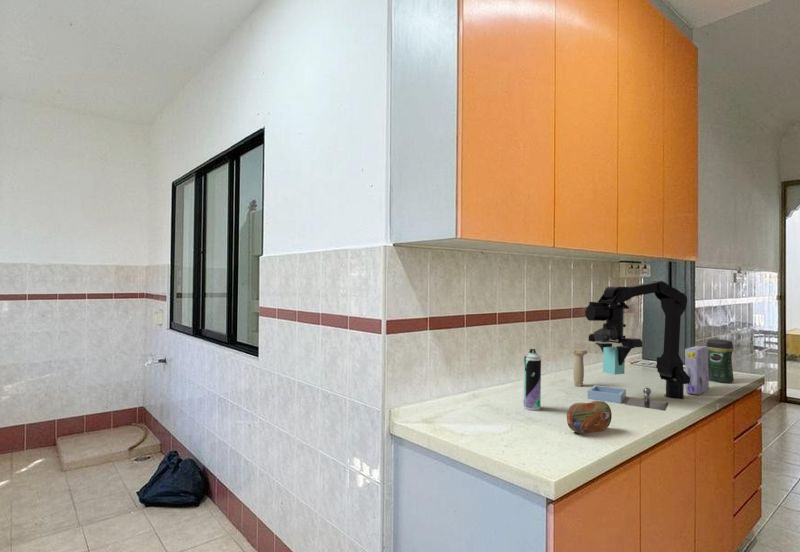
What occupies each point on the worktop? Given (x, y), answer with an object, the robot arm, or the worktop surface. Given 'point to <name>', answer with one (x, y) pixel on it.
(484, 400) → the worktop surface
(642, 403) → the ball stud
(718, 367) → the coffee jar
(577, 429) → the tin
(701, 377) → the cake pan box
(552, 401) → the worktop surface
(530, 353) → the spray can
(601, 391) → the bin
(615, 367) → the turquoise rectangular block
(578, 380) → the handle
